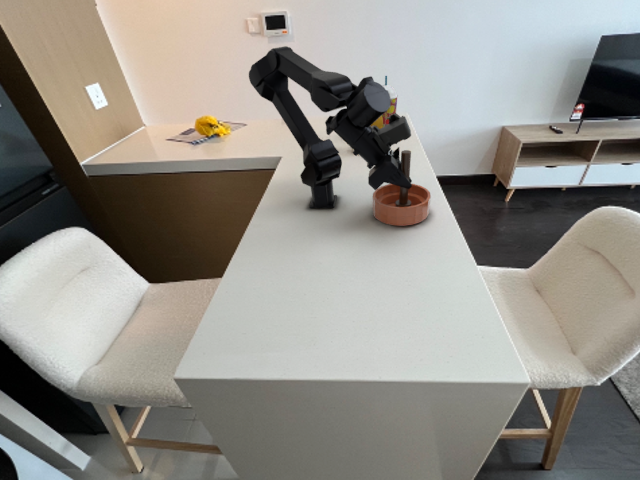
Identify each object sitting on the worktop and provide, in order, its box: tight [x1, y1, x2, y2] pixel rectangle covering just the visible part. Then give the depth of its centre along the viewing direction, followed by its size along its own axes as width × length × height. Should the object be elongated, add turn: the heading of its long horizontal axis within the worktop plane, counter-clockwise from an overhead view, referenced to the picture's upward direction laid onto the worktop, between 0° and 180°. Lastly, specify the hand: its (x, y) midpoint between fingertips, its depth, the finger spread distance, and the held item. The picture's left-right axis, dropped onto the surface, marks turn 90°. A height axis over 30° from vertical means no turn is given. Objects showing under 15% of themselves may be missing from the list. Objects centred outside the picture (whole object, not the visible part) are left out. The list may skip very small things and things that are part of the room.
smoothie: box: [382, 75, 399, 127], centre depth 123 cm, size 8×8×20 cm
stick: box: [395, 149, 412, 207], centre depth 75 cm, size 4×4×14 cm
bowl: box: [372, 183, 432, 227], centre depth 80 cm, size 13×13×5 cm
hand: (410, 185), depth 75 cm, fingers closed on stick, 2 cm apart
